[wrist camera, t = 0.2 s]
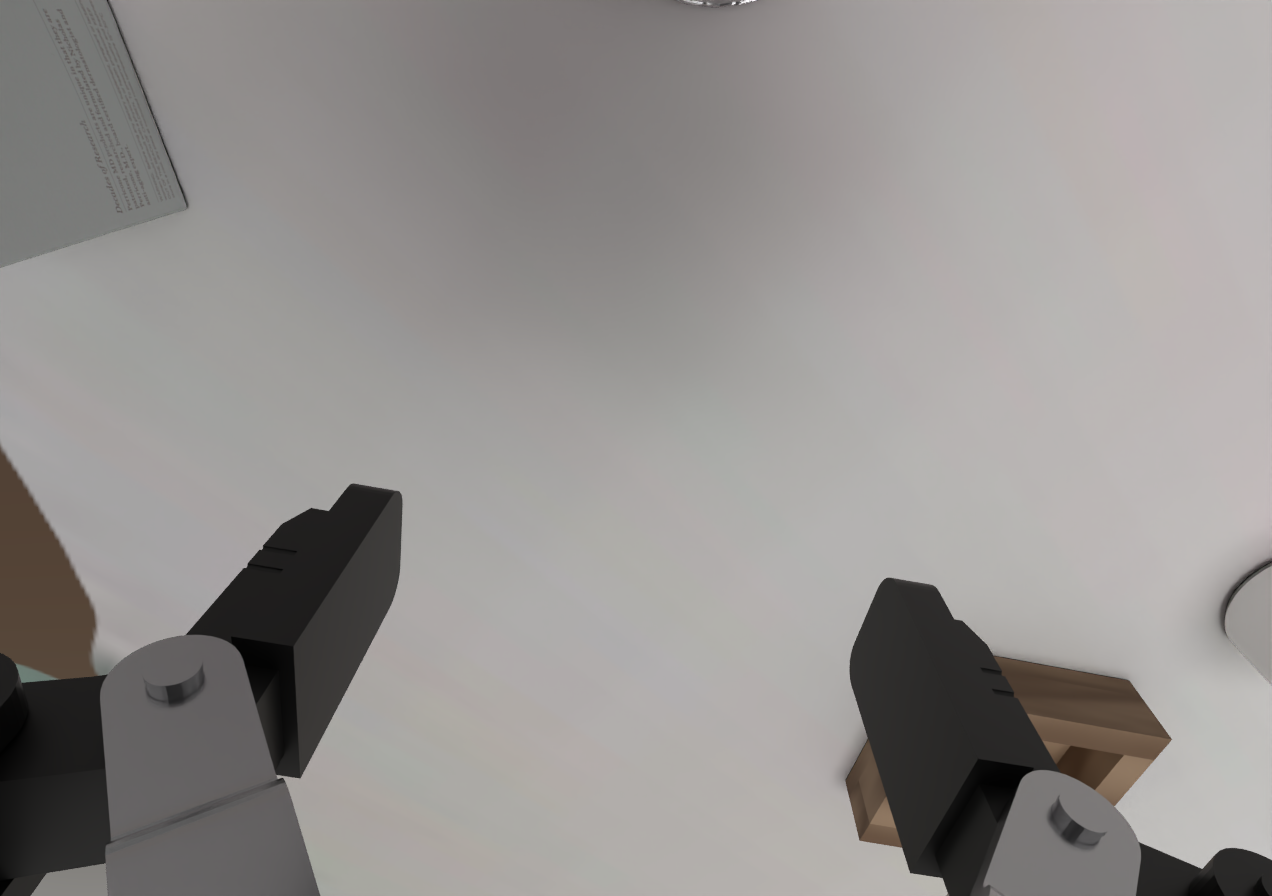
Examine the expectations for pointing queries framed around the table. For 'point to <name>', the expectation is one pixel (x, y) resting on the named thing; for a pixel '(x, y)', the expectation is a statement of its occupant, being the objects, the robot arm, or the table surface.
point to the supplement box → (73, 131)
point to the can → (1253, 620)
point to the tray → (1048, 738)
